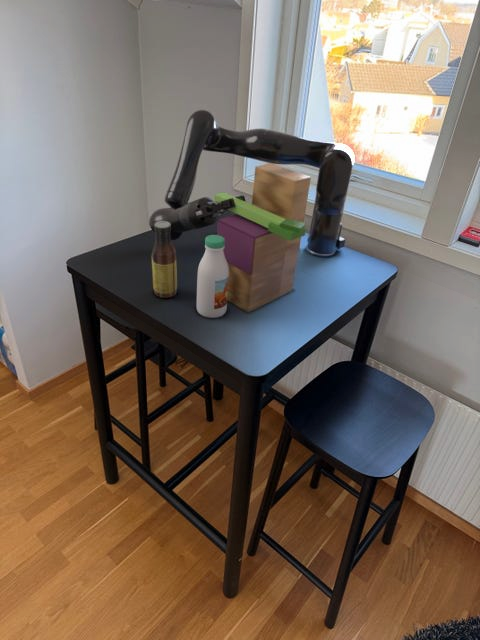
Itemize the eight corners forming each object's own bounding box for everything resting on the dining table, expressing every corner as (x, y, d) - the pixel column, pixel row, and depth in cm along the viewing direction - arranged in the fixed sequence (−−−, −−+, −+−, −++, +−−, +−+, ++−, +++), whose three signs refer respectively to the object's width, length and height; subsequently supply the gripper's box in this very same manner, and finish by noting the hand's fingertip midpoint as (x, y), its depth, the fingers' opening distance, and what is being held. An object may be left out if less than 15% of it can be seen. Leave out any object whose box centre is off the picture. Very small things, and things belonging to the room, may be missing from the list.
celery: (211, 204, 120) (212, 193, 118) (227, 200, 124) (228, 189, 122) (292, 242, 105) (294, 230, 104) (307, 236, 109) (310, 224, 107)
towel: (215, 256, 121) (217, 219, 115) (248, 244, 128) (251, 209, 122) (250, 275, 114) (254, 237, 108) (282, 261, 121) (287, 225, 116)
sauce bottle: (164, 284, 128) (163, 216, 117) (182, 292, 125) (182, 223, 114) (147, 293, 124) (144, 223, 113) (165, 302, 121) (163, 231, 110)
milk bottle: (202, 321, 115) (205, 247, 104) (192, 304, 121) (193, 233, 110) (231, 315, 118) (236, 243, 107) (220, 300, 124) (224, 229, 113)
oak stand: (213, 292, 127) (220, 174, 109) (258, 272, 138) (271, 162, 120) (248, 312, 120) (260, 190, 102) (292, 290, 131) (311, 176, 113)
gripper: (173, 206, 124) (213, 191, 111) (213, 195, 133) (254, 180, 120) (182, 233, 126) (222, 221, 113) (220, 221, 135) (262, 209, 121)
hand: (238, 200), depth 116 cm, fingers closed on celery, 3 cm apart
